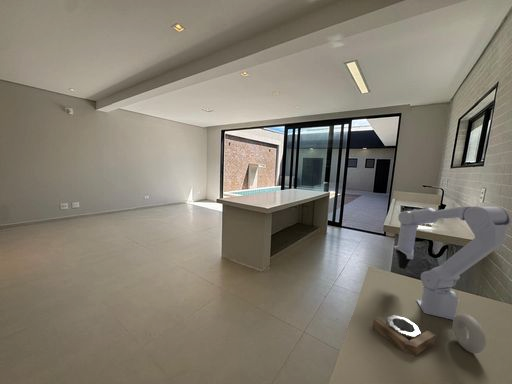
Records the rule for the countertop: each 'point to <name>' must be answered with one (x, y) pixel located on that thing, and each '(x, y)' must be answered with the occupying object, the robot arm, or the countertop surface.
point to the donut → (476, 333)
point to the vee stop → (400, 341)
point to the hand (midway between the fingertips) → (402, 267)
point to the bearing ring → (403, 326)
